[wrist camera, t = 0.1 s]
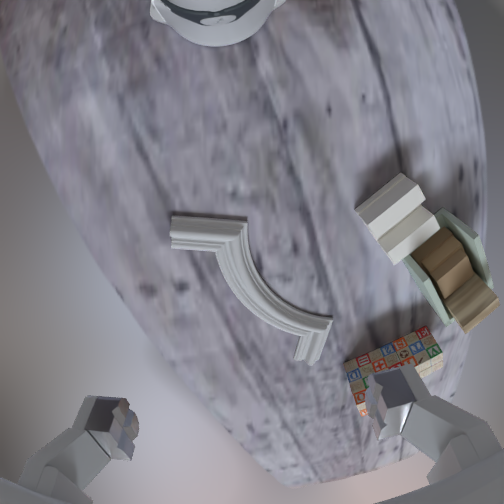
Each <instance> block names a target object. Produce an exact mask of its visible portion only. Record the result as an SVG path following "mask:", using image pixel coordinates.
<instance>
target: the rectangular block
mask: <svg viewBox="0 0 504 504" xmlns="http://www.w3.org/2000/svg"><path fill="white" fill-rule="evenodd" d="M473 273H474V275H473V276H472V277H471V278H469V279H468V280H467V281H466V282H465V283H464V284H462V285H461V286H460V287H459V288H458V289H457V290H455V291H454V292H453V293H452V294H450V295H449V296H448V297H447V298H446V299H445V298H444V297H443V296H442V295H441V293H440V292H439V291H438V289H437V288H436V287H435V285H434V284H433V283H432V284H433V286H434V288H435V290H436V292H437V294H438V296H439V298H440V300H441V301H442V303H443V304H444V305H445V307H446V308H447V309H448V311H449V312H450V313H451V315H452V316H453V317H454V319H455V320H456V321H457V323H458V324H459V326H460V327H461V328H462V330H463V331H464V333H465V334H466V333H468V332H469V331H470V330H471V329H473V328H474V327H475V326H476V325H477V324H479V323H480V322H481V321H482V320H483V319H484V318H486V317H487V316H488V315H489V314H490V313H491V312H493V311H494V310H495V309H496V308H497V307H498V306H499V299H498V297H497V295H496V294H495V293H494V292H493V291H492V290H491V289H490V288H489V287H488V286H487V285H486V284H485V283H484V281H483V280H482V279H481V278H480V277H479V276H478V275H477V274H476V273H475V272H474V271H473Z"/></svg>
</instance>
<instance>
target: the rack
mask: <svg viewBox="0 0 504 504" xmlns="http://www.w3.org/2000/svg"><path fill="white" fill-rule="evenodd" d="M434 216H435V218H436V220H437V223H438V225H439V227H440V229H439V230H438V231H436V232H435V233H434V234H433V235H432V236H430V237H429V238H428V239H427V240H426V241H424V242H423V243H422V244H421V245H420V246H418V247H417V248H416V249H415V250H413V251H412V252H411V253H410V254H408V255H407V256H406V257H405V258H403V259H402V261H403V262H404V264H405V266H406V267H407V269H408V271H409V272H410V274H411V276H412V277H413V279H414V281H415V282H416V284H417V286H418V288H419V289H420V291H421V293H422V294H423V295H424V297H425V298H426V299H427V301H428V302H429V304H430V305H431V306H432V308H433V309H434V311H435V312H436V313H437V315H438V316H439V318H440V319H441V321H442V322H443V323H444V325H445V326H446V327H447V326H449V325H450V324H451V323H452V322H454V321H455V319H454V317H453V316H452V315H451V313H450V312H449V311H448V309H447V308H446V307H445V305H444V304H443V303H442V301H441V300H440V298H439V296H438V294H437V292H436V290H435V288H434V286H433V284H434V285H435V287H436V288H437V289H438V291H439V292H440V293H441V295H442V296H443V297H444V298H445V299H446V298H447V297H448V296H449V295H450V294H452V293H453V292H454V291H455V290H457V289H458V288H459V287H460V286H461V285H462V284H464V283H465V282H466V281H467V280H468V279H469V278H471V277H472V276H473V275H474V273H473V271H474V272H475V273H476V274H477V275H478V276H479V277H480V278H481V279H482V280H483V281H484V283H485V284H486V285H487V286H488V287H489V288H490V289H492V288H493V287H494V286H493V282H492V278H491V274H490V270H489V266H488V263H487V260H486V256H485V253H484V249H483V246H482V243H481V240H480V237H479V235H478V234H477V233H476V232H475V231H473V230H472V229H471V228H470V227H468V226H467V225H466V224H464V223H463V222H462V221H460V220H459V219H458V218H457V217H455V216H454V215H453V214H451V213H450V212H449V211H447V210H446V209H444V208H441V209H440V210H439V211H438V212H437V213H435V214H434ZM432 283H433V284H432Z"/></svg>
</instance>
